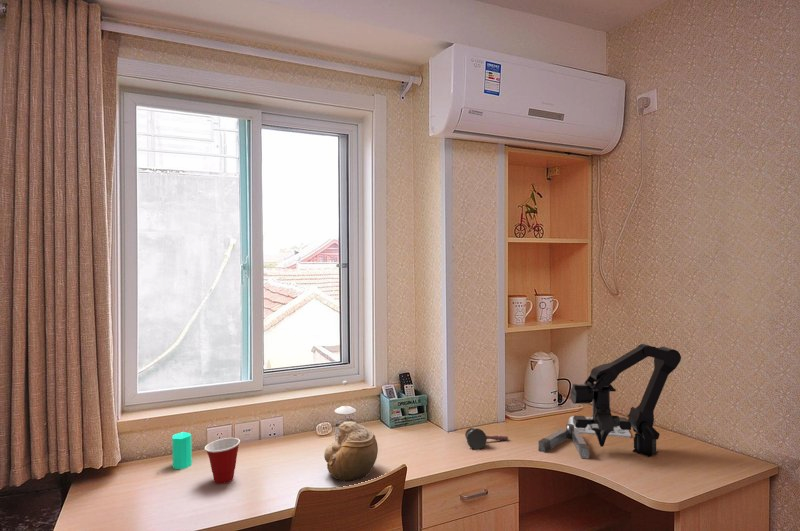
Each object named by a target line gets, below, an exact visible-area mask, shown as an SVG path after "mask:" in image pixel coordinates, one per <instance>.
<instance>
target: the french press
mask: <svg viewBox="0 0 800 531" xmlns="http://www.w3.org/2000/svg"><path fill="white" fill-rule="evenodd" d="M342 385H348V381H347V380H343V381H342ZM356 411H357V409H356V408H354V407H352V406H349V405H342V406H339V407H338V408H336V409H334V412H333V413H335V414H336V415H339V416H344V418H339V419H337V420H335V425H334V435H335V436H334V442H336V440H337V437H338V436H337V435H338V433H337V432H338V431H339V426H340V425H341V424H342V423H343V422H348V421H353V422H356V421H355V419H354V418H350V416H352V415H354V414H355V413H356ZM346 416H348V417H346Z"/></svg>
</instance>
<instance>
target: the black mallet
mask: <svg viewBox="0 0 800 531" xmlns="http://www.w3.org/2000/svg"><path fill="white" fill-rule="evenodd" d="M464 436H465V439H466V442H467V445H468V446H469V448H471V449H472V450H475V451H476V450H482V449H483V448H485V446H486V444H487V442H488V441H487V440H494V441H500V442H501V441H504V442H505V441H506V442H508V441H509V437H508V436H506V435H487V434H486V433H485V432H484V431H483V430H482V429H480V428H472V427H471V428H468V429H466V430H465V433H464Z"/></svg>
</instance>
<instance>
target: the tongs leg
mask: <svg viewBox="0 0 800 531" xmlns="http://www.w3.org/2000/svg"><path fill="white" fill-rule="evenodd" d="M571 440H572V442H573V444H574V446H575V448H576V450H577V452H578V454H579V456H580V458H581V459H590V447H589V445H588V443H586V441H585V439H584V437H583V436H582V433H580V432H579V431H576V430H572V439H571Z"/></svg>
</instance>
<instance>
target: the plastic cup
mask: <svg viewBox="0 0 800 531" xmlns="http://www.w3.org/2000/svg"><path fill="white" fill-rule="evenodd" d="M240 443H241V440H240V439H239V438H237V437H225V438H219V439H216V440H214V441H211V442H209V443H208V444H206V445H205V446H204V451H206V453H207V455H208V458H209V463H210V467H211V468H210V469H211V472H212V477H213V481H214V483H215V484H217V485H222V484H228V483H230V482H231V481H233V480H234V476H235V470H236V465H237V458H238V457H237V456H238V452H239V446H240Z"/></svg>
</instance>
